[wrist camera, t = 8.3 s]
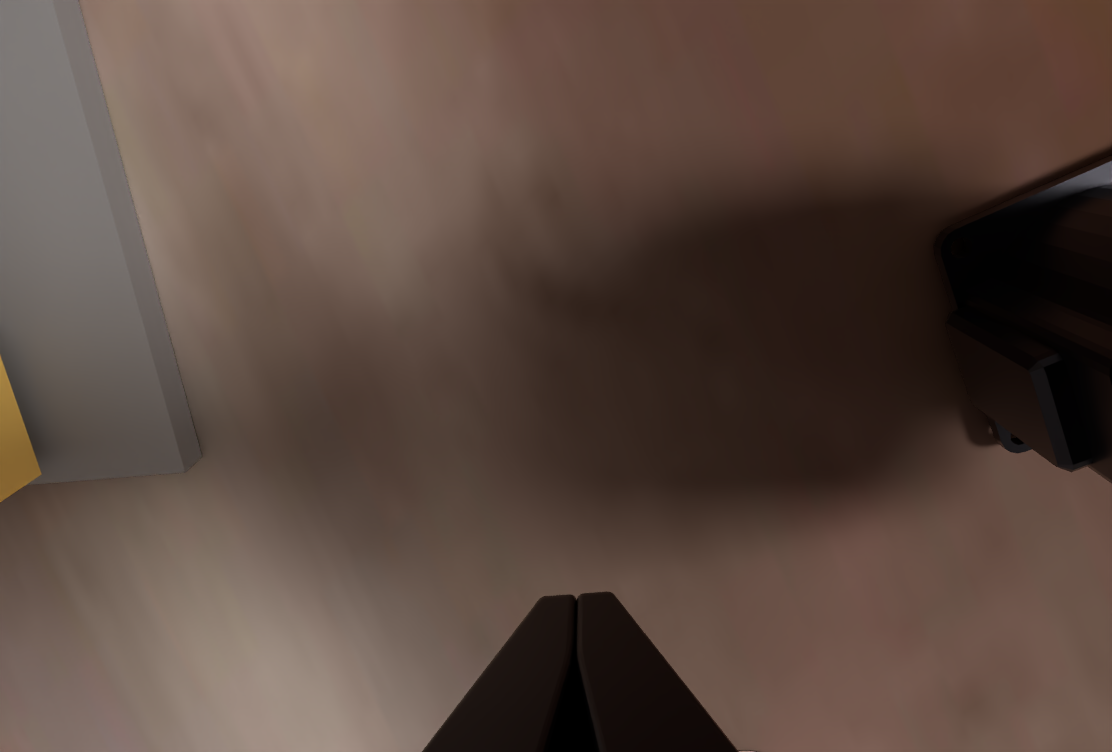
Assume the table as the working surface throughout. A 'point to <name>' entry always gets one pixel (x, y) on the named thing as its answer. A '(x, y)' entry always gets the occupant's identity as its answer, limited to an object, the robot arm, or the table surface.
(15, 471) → the amber block
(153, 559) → the table surface
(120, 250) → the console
